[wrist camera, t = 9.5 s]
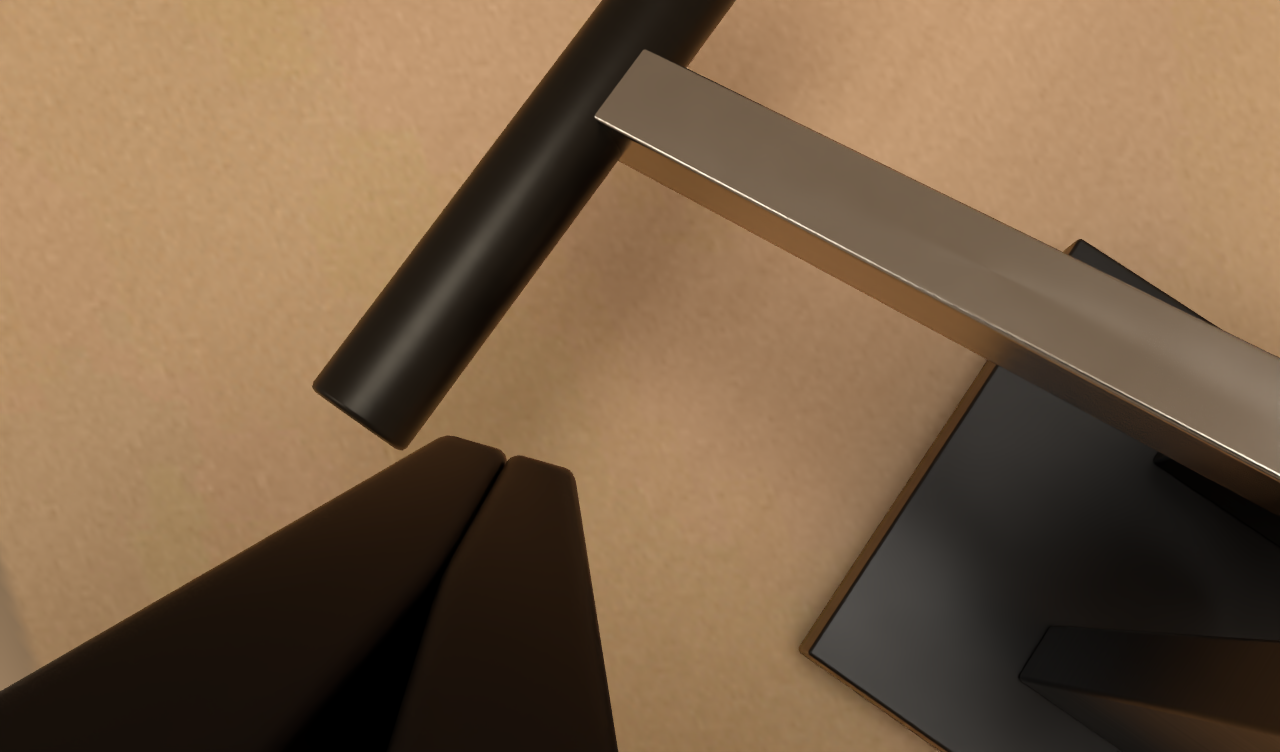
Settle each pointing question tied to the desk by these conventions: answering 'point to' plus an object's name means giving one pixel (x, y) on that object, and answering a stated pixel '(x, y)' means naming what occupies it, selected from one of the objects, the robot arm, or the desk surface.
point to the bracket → (1062, 588)
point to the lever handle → (807, 228)
